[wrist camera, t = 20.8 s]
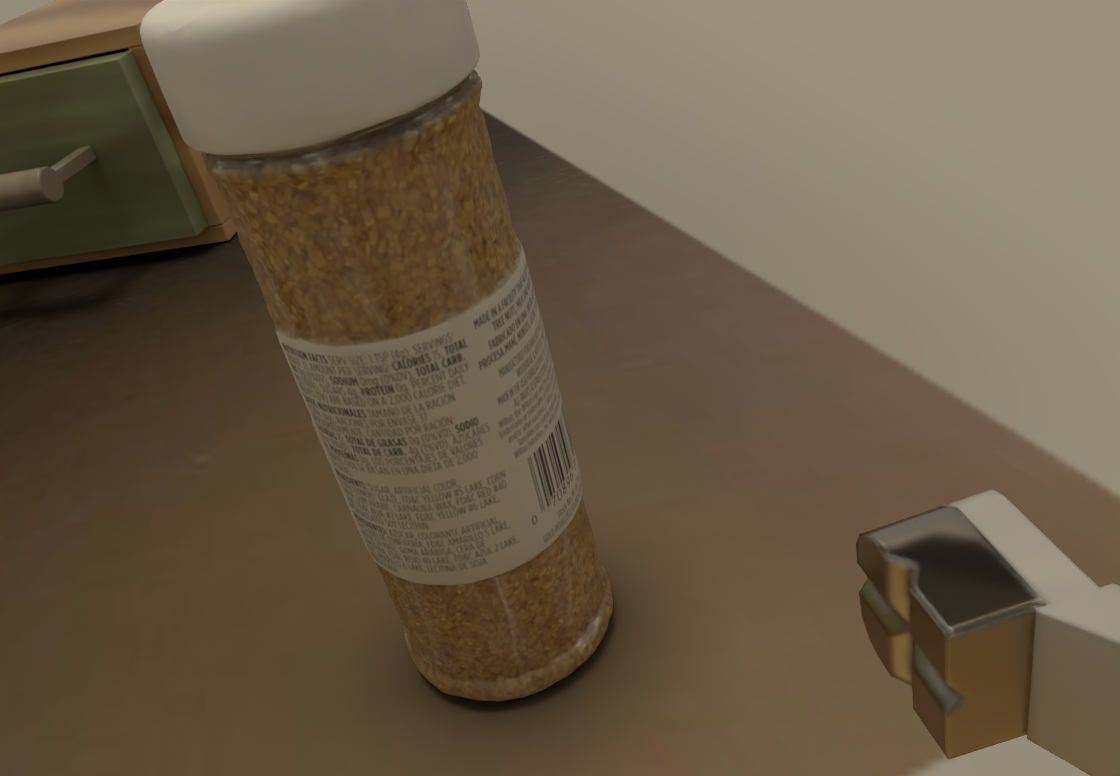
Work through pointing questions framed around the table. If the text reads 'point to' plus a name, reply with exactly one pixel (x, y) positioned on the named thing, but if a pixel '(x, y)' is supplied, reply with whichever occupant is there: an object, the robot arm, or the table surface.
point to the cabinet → (114, 23)
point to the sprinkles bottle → (401, 314)
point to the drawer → (87, 162)
